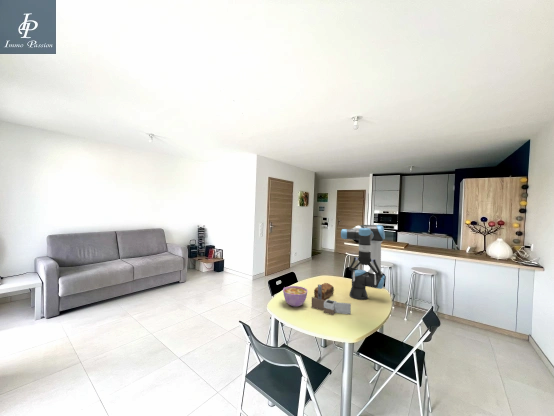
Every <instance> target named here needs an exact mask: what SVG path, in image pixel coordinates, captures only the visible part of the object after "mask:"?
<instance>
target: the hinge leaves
mask: <svg viewBox="0 0 554 416" xmlns="http://www.w3.org/2000/svg"><path fill="white" fill-rule="evenodd" d="M351 305H352V304H351V303H349V302H337V301H336V300H333V299H329V298H328V299H326V300H321V299H317V298H315V297H311V308H313V309H315V310H316V309H317V310H318V311H319V310H320V311H323V314H327V315H331V316H334V315H335V314H342V315H352V313H351V311H352V310H351V308H352V306H351Z"/></svg>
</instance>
